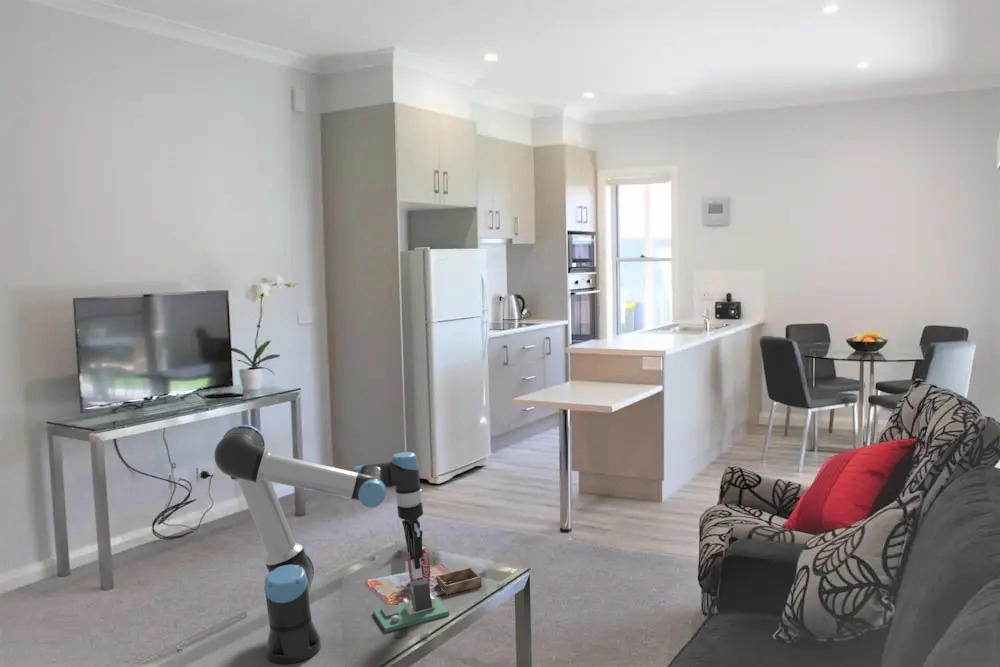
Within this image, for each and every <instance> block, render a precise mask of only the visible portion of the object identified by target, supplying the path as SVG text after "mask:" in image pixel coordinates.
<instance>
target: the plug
mask: <svg viewBox="0 0 1000 667" xmlns="http://www.w3.org/2000/svg"><path fill="white" fill-rule="evenodd" d="M409 589H410V600H411V601H412V607H413V609H414V610H415V611H416V612H417V611H421V610H425V609H429V608H432V607H431V597H430V593H431V589H430V582H429V581H427V580H426V579H425V578H424V579H420V580H416V581H412V582H411V581H409Z"/></svg>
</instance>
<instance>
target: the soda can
mask: <svg viewBox="0 0 1000 667" xmlns="http://www.w3.org/2000/svg"><path fill="white" fill-rule="evenodd" d="M429 554H430V553H429V551H428V548H427V546H426V545H425V543H422V555H423V557H422V558H420V559H421V568H422V577H421V578H417V579H413V577H412V568H411V560H410V555H409V553H408V552H407V563H408V564H407V566H408V576H409V582H412V581H416V580H420V579H424V578H425V579H426V580H427V581H428V582H429V581H430V580H431V566H430V557H429V556H430V555H429Z"/></svg>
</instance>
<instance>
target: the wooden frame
mask: <svg viewBox="0 0 1000 667" xmlns="http://www.w3.org/2000/svg"><path fill="white" fill-rule="evenodd" d="M466 578H467V579H466ZM468 578H469V579H468ZM463 579H465V580H463ZM435 580H436V584H437V583H438V585H439V586H440V587H441V588H442V589H443V590H444V591H445V593H446V594H445V593H444V594H445V595H446V596H448V594H449V595H452V594H456V593H460V592H462V591H463V592H464V591H468V590H471V589H475V588H478V587H481V586H482V577H481V575H479V573H477V572H476V571H475V570H474V569H473V568H472V567H471V566H470V567H469V566H468V567H466V568H461V569H459V570H454V571H449V572H446V573H442V574H439V575H436V579H435ZM458 580H461V581H458ZM449 581H452V582H453V583H450V582H449ZM454 581H456V582H454ZM444 582H448V583H450V584H447V583H444ZM438 585H437V586H438ZM439 586H438V587H439ZM440 587H439V588H440ZM441 588H440V589H441ZM451 593H452V594H451Z"/></svg>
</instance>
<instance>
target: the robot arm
mask: <svg viewBox="0 0 1000 667" xmlns="http://www.w3.org/2000/svg"><path fill="white" fill-rule="evenodd" d="M265 443H266V442H265V438H264V435H263V434H262V432H261V431H260V430H259V429H258V428H256V427H254V426H253V425H249V424H238V425H236V426H233V427H232V428H230V429H229V430H227V431H226V432H225V434H224V435H223V437H222V439H221V440H220V441H219V442H218V443H217V445H216V447H215V450H214V456H213V457H214V462H215V464H216V466H217V468H218V469H219V471H220V472H222V474H225V475H226V476H229V477H230V479H231V480H232V481H234V482H237V483H238V485H239V487H240V489H241V492H242V494H243V496H244V499H245V501H246V504H247V506H248V509H249V512H250V514H251V516H252V519H253V522H254V524H255V527H256V529H257V532H258V535H259V536H260V539H261V543H262V545H263V547H264V549H265V552H266V554H267V556H266V557H265V560H264V564H265V566H266V568H267V571H268V573H267V574H266V576H265V578H264V585H263V586H264V587H263V589H264V593H265V598H266V606H267V607H266V608H267V616H268V622H269V632H268V638H267V642H266V646H265V647H266V648H265V653H266V657H267V658H266V659H267V660H269V662H271V663H273V664H281V665H288V664H295V663H300V662H303V661H306V660H307V659H310V658H311V657H313V656H315V655H316V654H317V653H318V652H319V651H320V650H321V647H322V644H321V642H322V641H321V638H320V635H319V632H318V630H317V628H316V626H315V624H314V623H313V620H312V613H311V604H310V603H311V601H310V591H311V587H312V582H313V579H314V575H315V572H314V570H315V569H314V568H315V566H314V564H313V563H314V562H313V561H312V559H311V557H310V556H309V555H308V554H307V553H306V552H305V549H304V547H303V545H302V544H300V543H298V542H296V540H295V539H294V536H293V533H292V530H291V528H290V525H289V523H288V521H287V518H286V515H285V513H284V511H283V508H282V505H281V503H280V500H279V497H278V495H277V493H276V491H275V488H274V485H273V483H276V484H280V485H285V486H289V487H294V488H299V489H303V490H307V491H308V490H309V491H314V492H318V493H322V494H327V495H333V496H336V497H343V498H345V499H351V500H355V501H359V502H360V503H361V505H363V506H365V507H367V508H376V507H379V506H380V505H381V504H382V503H383V502H384V501H385V498H386V495H387V489H388V488H392V487H393V488H395V499H396V500H395V501H396V505H397V515H398V516H397V517H398V518H399V519H400V520H402V521H401V523H402V527H403V532H404V537H405V543H406V544H405V545H406V551H407V553H409V555H410V560H411V568H412V577H413V579H417V578H421V577H422V568H421V559H420V558H422V557H423V555H422V544H423V530H421V529H420V528H421V524H420V521H419V519H420V517H422V516H423V515H424V508H423V503H422V500H423V498H422V495H421V494H423V490H422V489H421V482H420V481H421V480H420V471H419V470H420V468H419V462H418V457H417V456H418V455H417V454H416V453H415V452H412V451H401V452H397V453H395V454H393V455H392V457H391V461H387V462H379V463H370V464H369V463H368V464H362V465H358V466H354V468H352V470H347V469H343V468H339V467H333V466H329V465H325V464H321V463H316V462H312V461H309V460H302V459H298V458H293V457H290V456H284V455H281V454H276V453H271V452H270V451H269V450H268V448H265Z"/></svg>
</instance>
